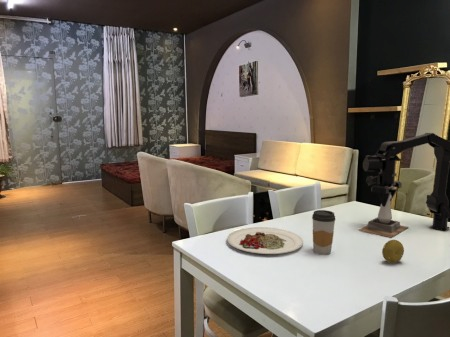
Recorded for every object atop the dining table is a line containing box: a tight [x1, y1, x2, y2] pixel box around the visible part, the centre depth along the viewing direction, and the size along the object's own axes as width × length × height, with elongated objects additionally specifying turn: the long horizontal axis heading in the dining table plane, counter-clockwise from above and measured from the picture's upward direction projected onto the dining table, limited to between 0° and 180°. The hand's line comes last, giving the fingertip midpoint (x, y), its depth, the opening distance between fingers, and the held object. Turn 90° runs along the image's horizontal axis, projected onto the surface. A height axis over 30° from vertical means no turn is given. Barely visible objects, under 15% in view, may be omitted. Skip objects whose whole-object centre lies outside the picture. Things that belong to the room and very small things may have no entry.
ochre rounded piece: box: [381, 239, 405, 264], centre depth 123 cm, size 8×4×8 cm, turn 110°
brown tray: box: [358, 216, 409, 239], centre depth 160 cm, size 20×14×4 cm
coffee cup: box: [311, 209, 336, 256], centre depth 132 cm, size 8×8×15 cm
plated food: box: [226, 226, 304, 255], centre depth 142 cm, size 30×30×3 cm
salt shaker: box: [377, 194, 393, 223], centre depth 159 cm, size 6×6×13 cm
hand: (385, 205), depth 159 cm, fingers closed on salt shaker, 4 cm apart
